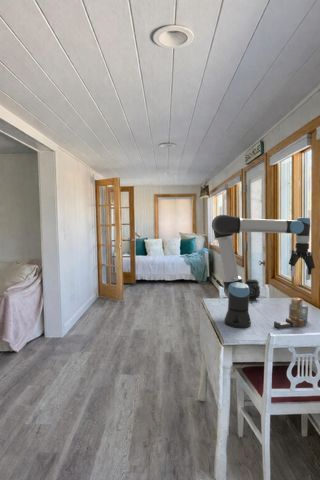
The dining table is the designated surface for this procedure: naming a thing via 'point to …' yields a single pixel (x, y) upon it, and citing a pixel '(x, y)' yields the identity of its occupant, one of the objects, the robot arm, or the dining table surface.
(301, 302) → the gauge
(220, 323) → the dining table surface
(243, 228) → the robot arm
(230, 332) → the dining table surface
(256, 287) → the camera
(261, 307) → the dining table surface
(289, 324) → the rail
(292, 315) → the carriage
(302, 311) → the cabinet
